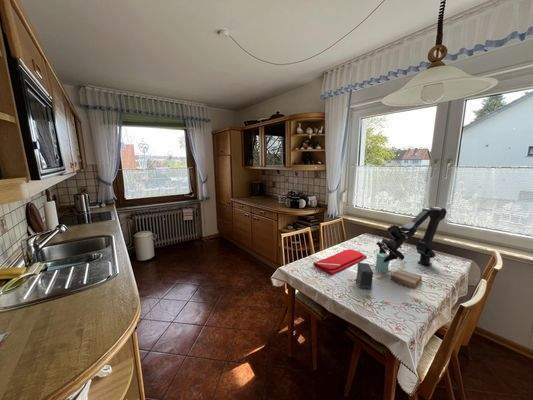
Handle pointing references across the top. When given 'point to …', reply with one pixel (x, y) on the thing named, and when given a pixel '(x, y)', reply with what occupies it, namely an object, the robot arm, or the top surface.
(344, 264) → the dish drying mat
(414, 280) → the walnut base
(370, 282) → the small box
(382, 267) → the teal block
